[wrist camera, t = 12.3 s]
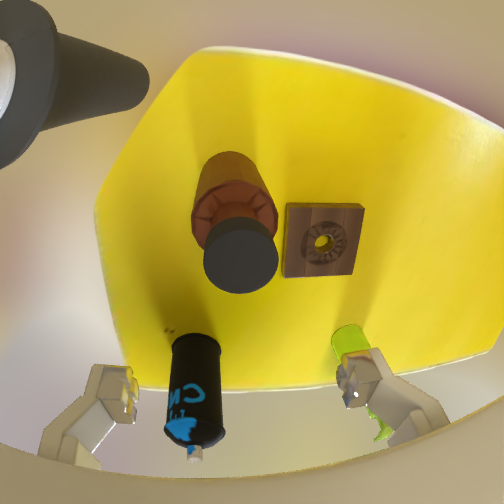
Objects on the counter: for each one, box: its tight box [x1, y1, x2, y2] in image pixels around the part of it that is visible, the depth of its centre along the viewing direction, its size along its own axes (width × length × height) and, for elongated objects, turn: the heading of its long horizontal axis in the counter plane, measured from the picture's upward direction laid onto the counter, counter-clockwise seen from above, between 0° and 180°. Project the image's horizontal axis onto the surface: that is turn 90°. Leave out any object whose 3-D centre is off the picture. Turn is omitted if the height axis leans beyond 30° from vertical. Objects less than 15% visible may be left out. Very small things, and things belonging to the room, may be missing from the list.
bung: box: [203, 216, 279, 294], centre depth 20 cm, size 5×5×4 cm
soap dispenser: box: [331, 325, 393, 442], centre depth 42 cm, size 6×7×20 cm
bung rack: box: [281, 203, 365, 278], centre depth 39 cm, size 10×10×2 cm
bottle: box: [191, 151, 278, 250], centre depth 28 cm, size 7×7×17 cm
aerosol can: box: [164, 333, 225, 462], centre depth 39 cm, size 8×8×20 cm
